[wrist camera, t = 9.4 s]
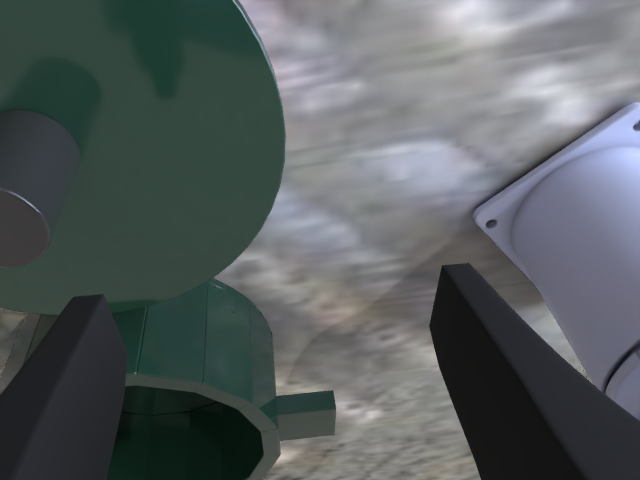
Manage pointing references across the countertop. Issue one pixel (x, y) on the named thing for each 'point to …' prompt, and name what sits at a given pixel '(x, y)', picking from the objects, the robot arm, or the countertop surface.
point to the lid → (131, 148)
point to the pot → (197, 390)
